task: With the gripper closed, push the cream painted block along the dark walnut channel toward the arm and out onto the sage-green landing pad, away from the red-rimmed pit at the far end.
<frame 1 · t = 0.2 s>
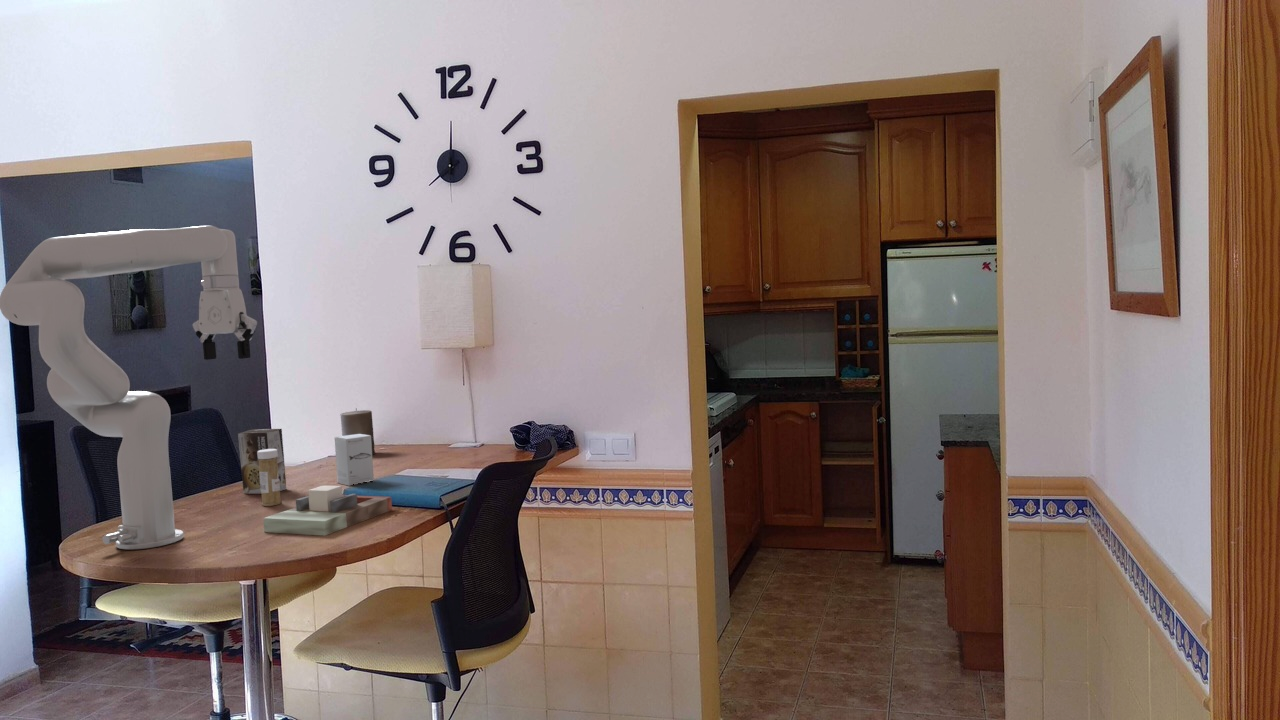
hand: (227, 358, 217), 36 cm above the table, tool pointing down, fingers open, 9 cm apart
sprinkles bottle: (271, 505, 230), on the table
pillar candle: (359, 455, 300), on the table
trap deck: (331, 519, 210), on the table
supplement box: (355, 483, 253), on the table
cream block: (326, 508, 208), point 3 cm above the table, touching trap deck
coffee box: (265, 492, 247), on the table
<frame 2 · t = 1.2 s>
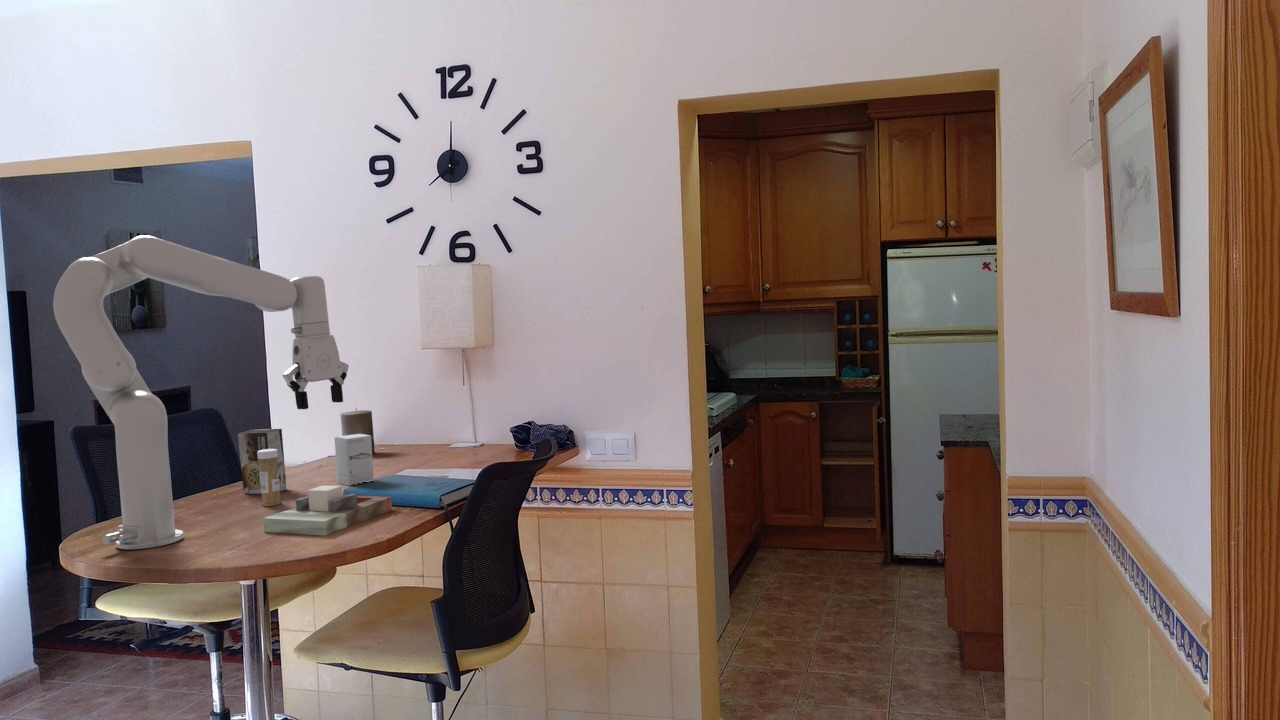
hand: (320, 405, 216), 25 cm above the table, tool pointing down, fingers open, 9 cm apart
nothing on the table moved.
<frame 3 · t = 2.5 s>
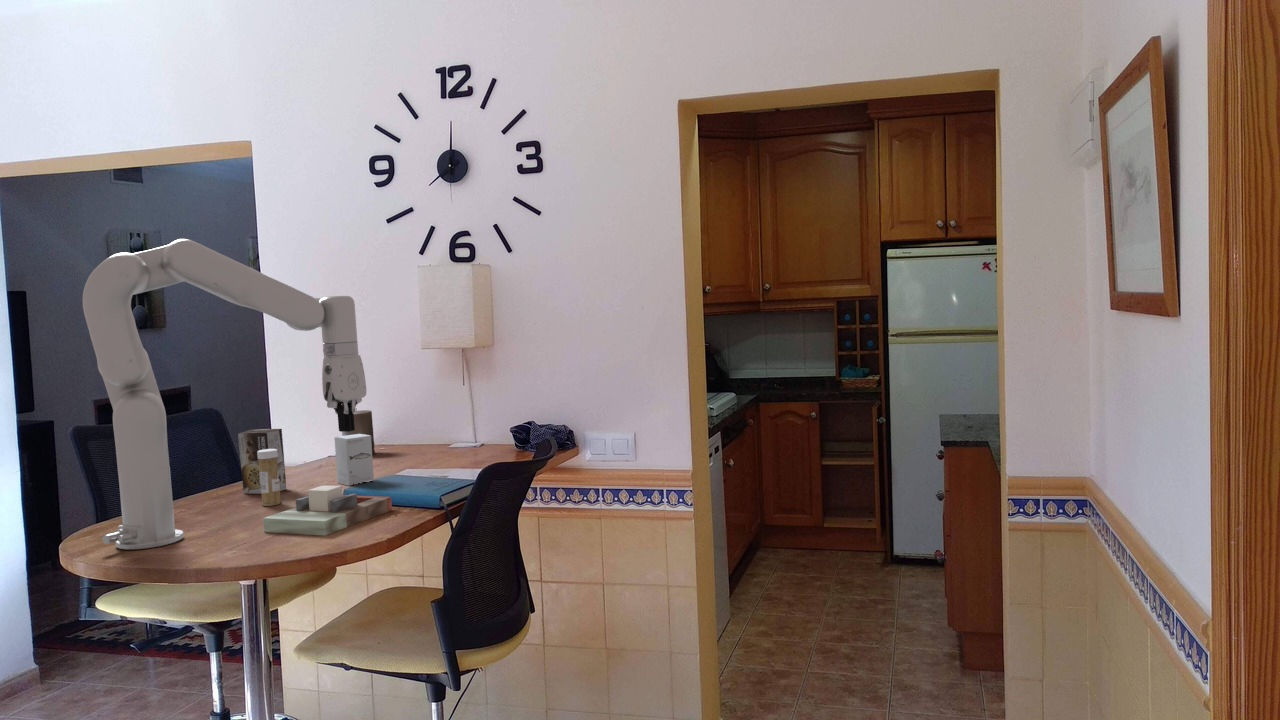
hand: (346, 430, 215), 19 cm above the table, tool pointing down, fingers closed
nothing on the table moved.
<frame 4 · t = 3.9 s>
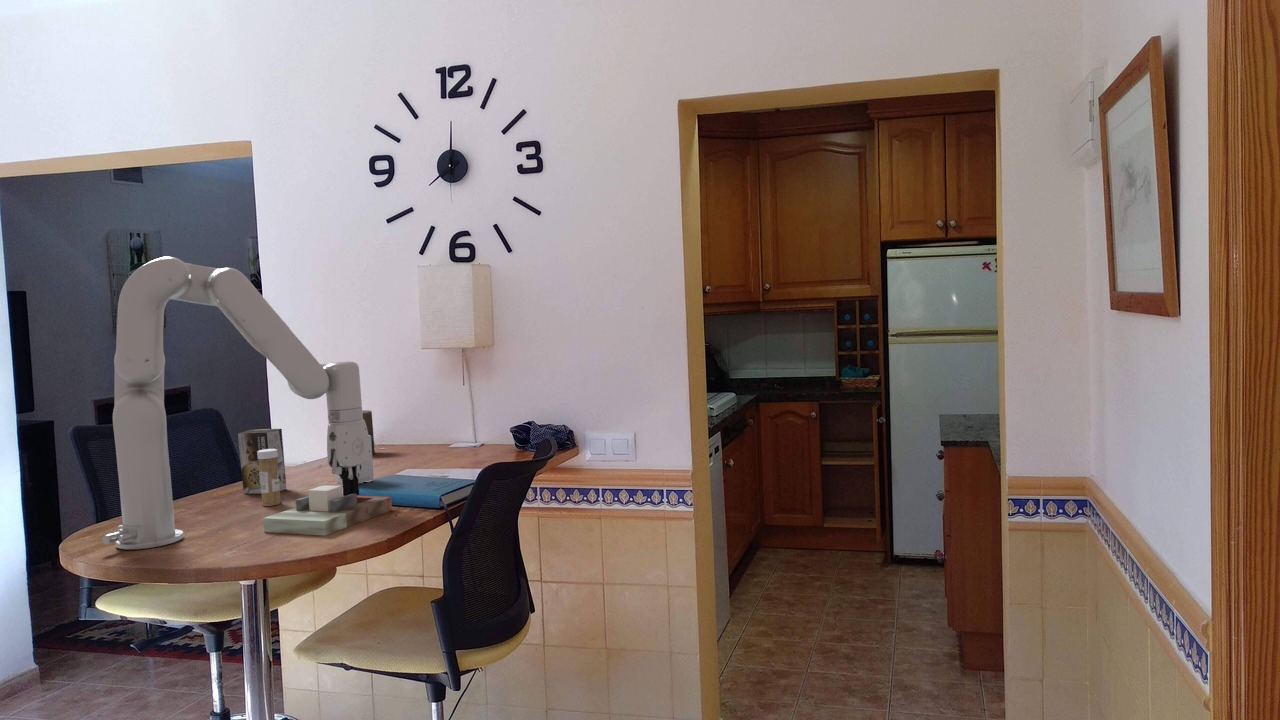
hand: (351, 495, 216), 4 cm above the table, tool pointing down, fingers closed
nothing on the table moved.
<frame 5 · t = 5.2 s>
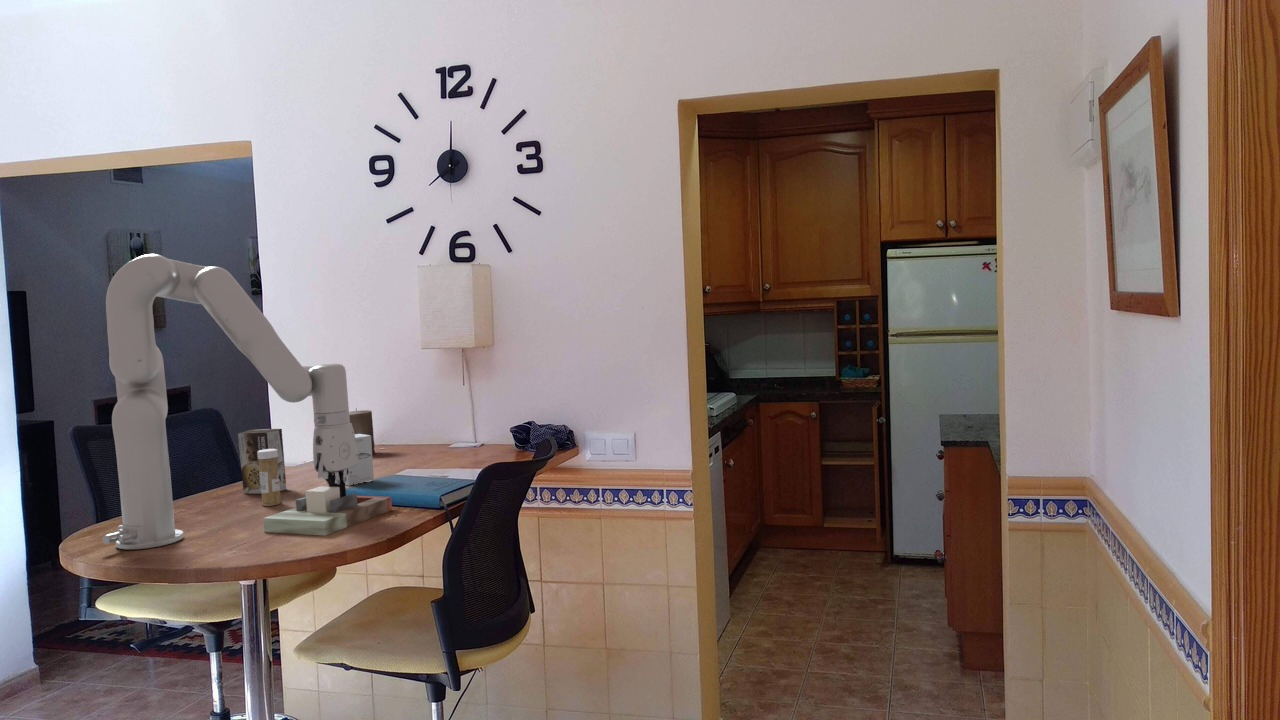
hand: (338, 500, 212), 4 cm above the table, tool pointing down, fingers closed
cream block: (324, 509, 207), point 3 cm above the table, touching gripper
everything else where it was.
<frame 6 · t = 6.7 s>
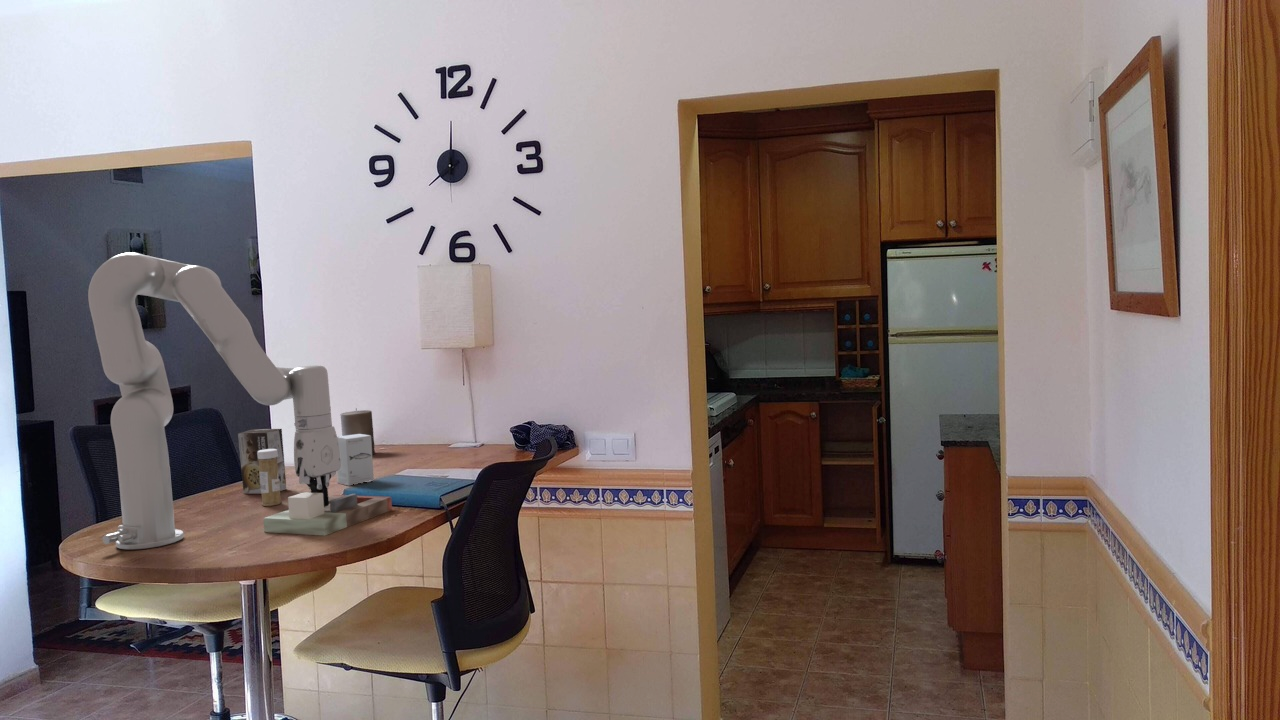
hand: (320, 506, 206), 4 cm above the table, tool pointing down, fingers closed
cream block: (307, 515, 201), point 3 cm above the table, touching gripper, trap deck
everything else where it was.
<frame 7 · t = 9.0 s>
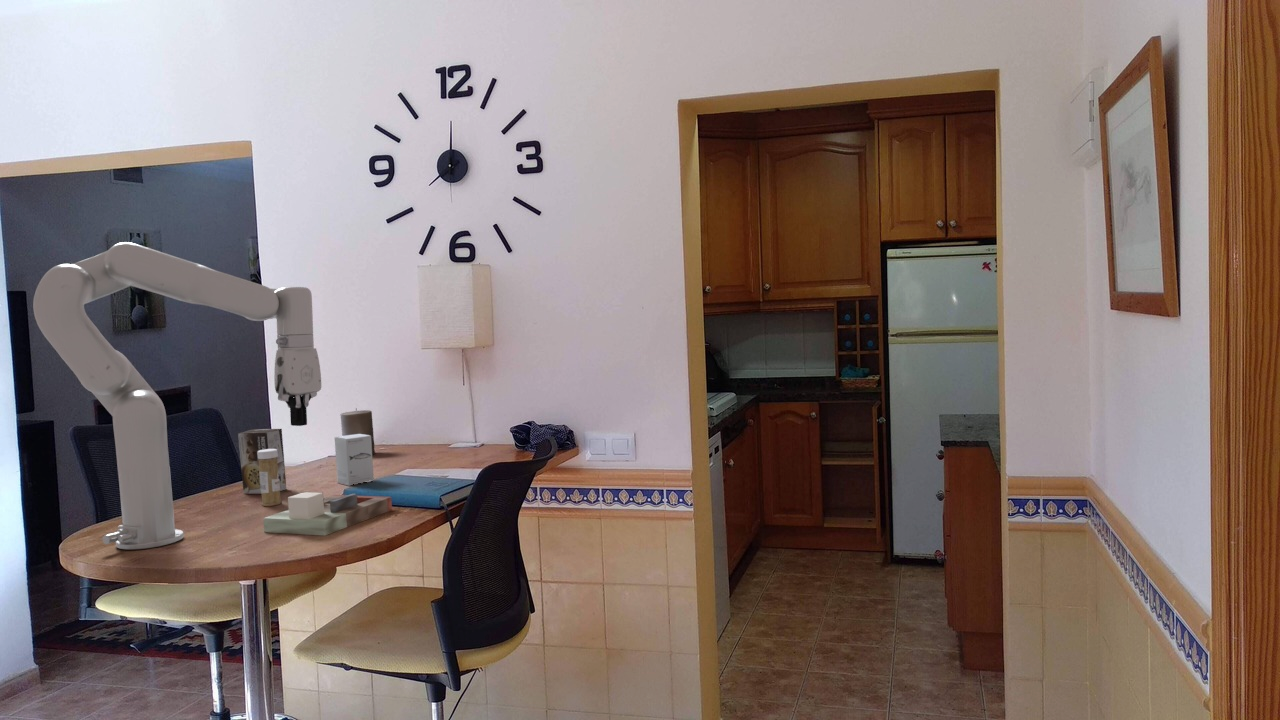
hand: (298, 425, 210), 21 cm above the table, tool pointing down, fingers closed
cream block: (307, 516, 201), point 3 cm above the table, touching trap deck
everything else where it was.
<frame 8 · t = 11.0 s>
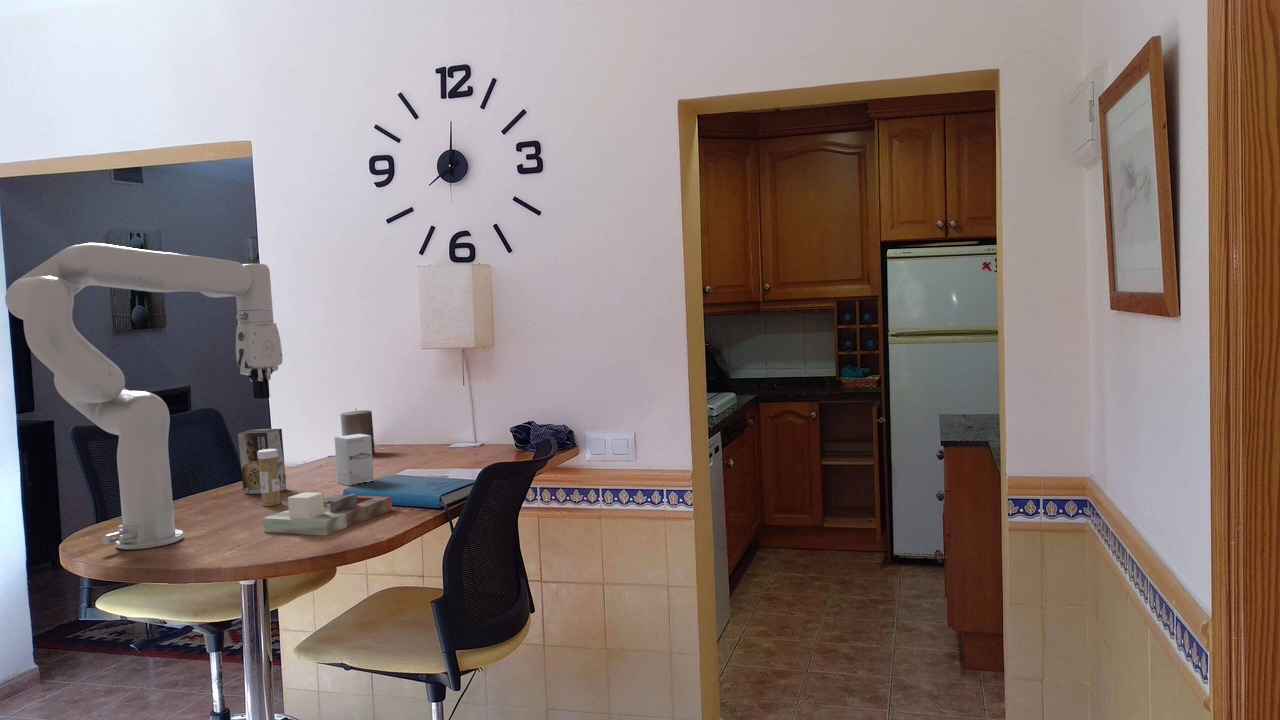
hand: (261, 398, 216), 27 cm above the table, tool pointing down, fingers closed
nothing on the table moved.
at the end: cream block 0.7 cm from the target spot on the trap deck, point 3.0 cm above the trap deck's base; cream block tilted 0° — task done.
